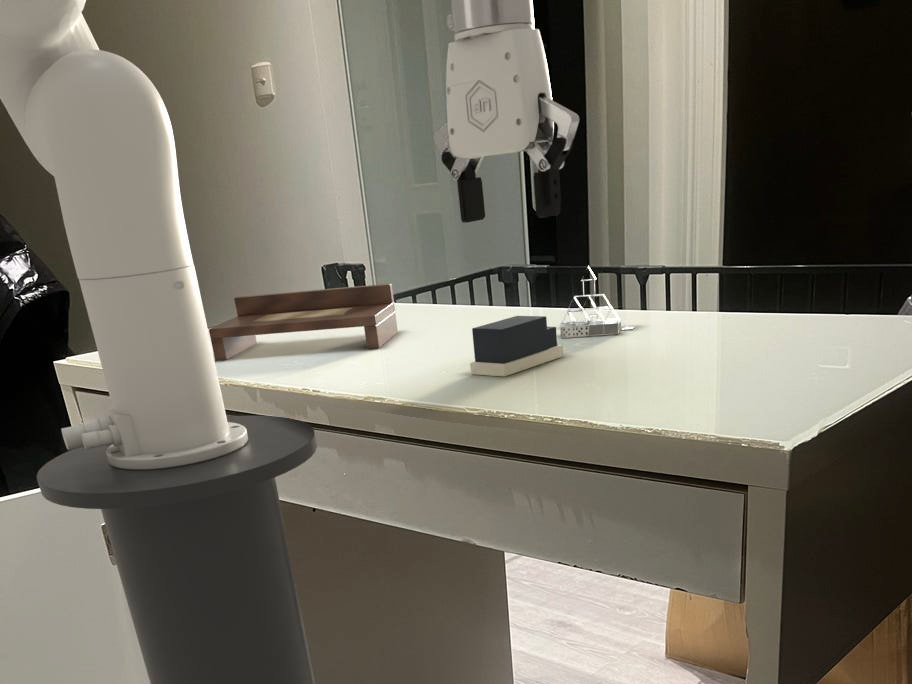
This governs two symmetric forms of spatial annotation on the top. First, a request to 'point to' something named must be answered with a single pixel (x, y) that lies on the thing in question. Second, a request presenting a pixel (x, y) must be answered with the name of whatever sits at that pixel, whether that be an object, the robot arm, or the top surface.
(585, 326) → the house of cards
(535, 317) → the stepped dark grey block
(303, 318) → the wooden bench
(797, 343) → the top surface
